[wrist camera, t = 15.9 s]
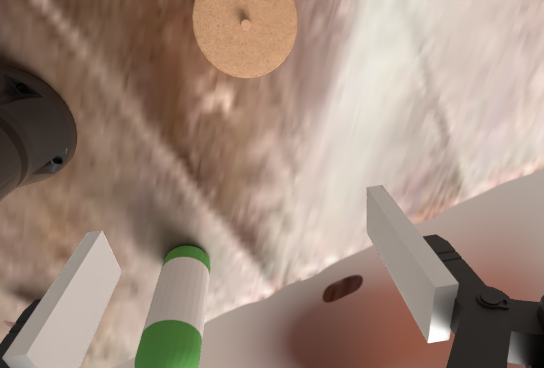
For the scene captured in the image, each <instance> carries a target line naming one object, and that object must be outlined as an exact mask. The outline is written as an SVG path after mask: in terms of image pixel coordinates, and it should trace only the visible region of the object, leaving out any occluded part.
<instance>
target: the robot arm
mask: <svg viewBox="0 0 544 368" xmlns="http://www.w3.org/2000/svg"><path fill="white" fill-rule="evenodd" d="M76 144H77V131H76V126H75V122H74V119H73V117H72V115H71V113H70V111H69V109H68V107H67V106H66V104H65V103H64V101H63V100H62V99H61V98H60V97H59V95H58V94H57V93H56V92H55V91H54V90H53V89H51V88H50V87H49V86H48V85H47V84H45V83H44V82H42V81H41V80H39V79H38V78H36V77H34V76H33V75H31V74H29V73H26V72H24V71H21V70H18V69H15V68H11V67H7V66H0V201H1V200H2V199H3V198H4V197H6V196H7V195H8V194H9V193H10V192H12V191H13V190H14V189H15V188H17V187H21V186H24V185H28V184H31V183H35V182H39V181H42V180H45V179H47V178H49V177H51V176H53V175H54V174H56V173H57V172H58V171H60V170H61V169H62V168H63V167H64V166H65V165H66V164H67V163H68V162H69V161H70V159H71V158H72V156H73V154H74V152H75V149H76ZM367 234H368V235H369V237H370V239H371V241H372V243H373V244H374V246H375V248H376V250H377V252H378V254H379V255H380V257H381V259H382V261H383V263H384V264H385V266H386V268H387V270H388V271H389V273H390V275H391V277H392V279H393V281H394V283H395V284H396V286H397V288H398V290H399V292H400V293H401V295H402V297H403V299H404V301H405V303H406V304H407V306H408V308H409V310H410V311H411V313H412V315H413V317H414V319H415V321H416V322H417V324H418V326H419V328H420V330H421V332H422V333H423V335H424V337H425V339H426V341H427V342H428V343H432V342H438V341H444V340H448V339H449V337H450V331H451V329H452V331H453V333H454V334H455V338H454V342H453V346H452V349H451V353H450V356H449V360H448V364H447V367H446V368H507V362H510V363H516V364H523V365H525V366H526V368H544V296H543V297H542V298H541V301H540V302H531V301H521V300H514V299H510V298H509V296H507V295H506V294H505V293H503V292H502V291H500V290H498V289H495V288H493V287H488V286H486V285H485V284H484V283H483V282H482V280H481V279H480V278H479V277H478V276H477V275H476V273H475V272H474V271H473V270H472V269H471V268H470V267H469V265H468V264H467V263H466V262H465V261H464V260H463V259H462V258H461V256H460V255H459V254H458V253H457V252H456V251H455V249H454V248H453V247H452V246H451V245H450V243H449V242H448V241H446V240H444V239H443V238H441V237H439V236H438V235H430V236H424V237H422V236H421V235H420V233H419V232H418V231H417V229H416V228H415V227H414V225H413V224H412V223H411V222H410V220H409V219H408V218H407V216H406V215H405V214H404V213H403V211H402V210H401V209H400V207H399V206H398V205H397V204H396V202H395V201H394V200H393V198H392V197H391V196H390V195H389V193H388V192H387V191H386V189H385V188H384V187H383V186H382V185H379V186H373V187H367ZM121 273H122V271H121V269H120V267H119V265H118V263H117V261H116V258H115V256H114V254H113V252H112V250H111V248H110V246H109V243H108V241H107V239H106V237H105V235H104V233H103V231H102V230H100V231H93V232H87V233H86V234H85V236H84V237H83V239H82V240H81V242H80V243H79V245H78V246H77V248H76V249H75V251H74V252H73V254H72V255H71V257H70V258H69V260H68V261H67V263H66V264H65V266H64V267H63V268H62V270H61V271H60V273H59V274H58V276H57V277H56V279H55V280H54V282H53V283H52V285H51V286H50V288H49V289H48V291H47V292H46V294H45V295H44V297H43V298H42V299H40V300H35V301H34V302H33V303H32V304H31V305H30V306H29V307H28V308H26V309H25V310H24V311H23V313H22V314H21V315H20V317H19V318H18V320H17V321H16V324H15V325H13V327H12V328H11V330H10V331H9V334H7V335H6V337H5V338H4V340H3V341H2V342H1V344H0V368H80V365H81V363H82V361H83V359H84V356H85V354H86V352H87V350H88V347H89V345H90V343H91V341H92V338H93V336H94V334H95V331H96V329H97V327H98V325H99V322H100V320H101V318H102V316H103V313H104V311H105V309H106V307H107V304H108V302H109V300H110V298H111V295H112V293H113V291H114V289H115V286H116V284H117V282H118V280H119V277H120V275H121Z"/></svg>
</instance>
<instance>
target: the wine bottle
mask: <svg viewBox="0 0 544 368" xmlns="http://www.w3.org/2000/svg"><path fill="white" fill-rule="evenodd" d="M209 275H210V261H209V258H208V256H207V255H206V253H205V252H204V251H202V250H201V249H199V248H197V247H194V246H179V247H177V248H174V249H173V250H172V251H170V252H169V253H168V254H167V256H166V257H165V259H164V263H163V266H162V269H161V272H160V275H159V279H158V282H157V286H156V289H155V292H154V296H153V299H152V302H151V306H150V309H149V313H148V316H147V319H146V323H145V326H144V329H143V333H142V336H141V340H140V344H139V347H138V350H137V354H136V358H135V368H198V365H199V360H200V351H201V343H202V335H203V327H204V319H205V311H206V302H207V294H208V285H209Z"/></svg>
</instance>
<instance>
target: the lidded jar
mask: <svg viewBox="0 0 544 368" xmlns="http://www.w3.org/2000/svg"><path fill="white" fill-rule="evenodd" d="M192 24H193V30H194V35H195V38H196V41H197V44H198V46H199V48H200V49H201V51H202V53H203V54H204V56H205V57H206V58H207V59H208V60H209V62H210V63H211V64H212V65H214V66H215V67H216V68H218V69H219V70H221V71H222V72H224V73H226V74H229V75H231V76H234V77H239V78H254V77H259V76H262V75H265V74H267V73H269V72H271V71H272V70H274V69H275V68H277V67H278V66H279V65H280V64H281V63H282V62H283V61H284V60H285V58H286V57H287V56H288V54H289V53H290V51H291V49H292V47H293V44H294V41H295V38H296V34H297V26H298V18H297V10H296V5H295V2H294V0H195V1H194V5H193V12H192Z"/></svg>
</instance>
